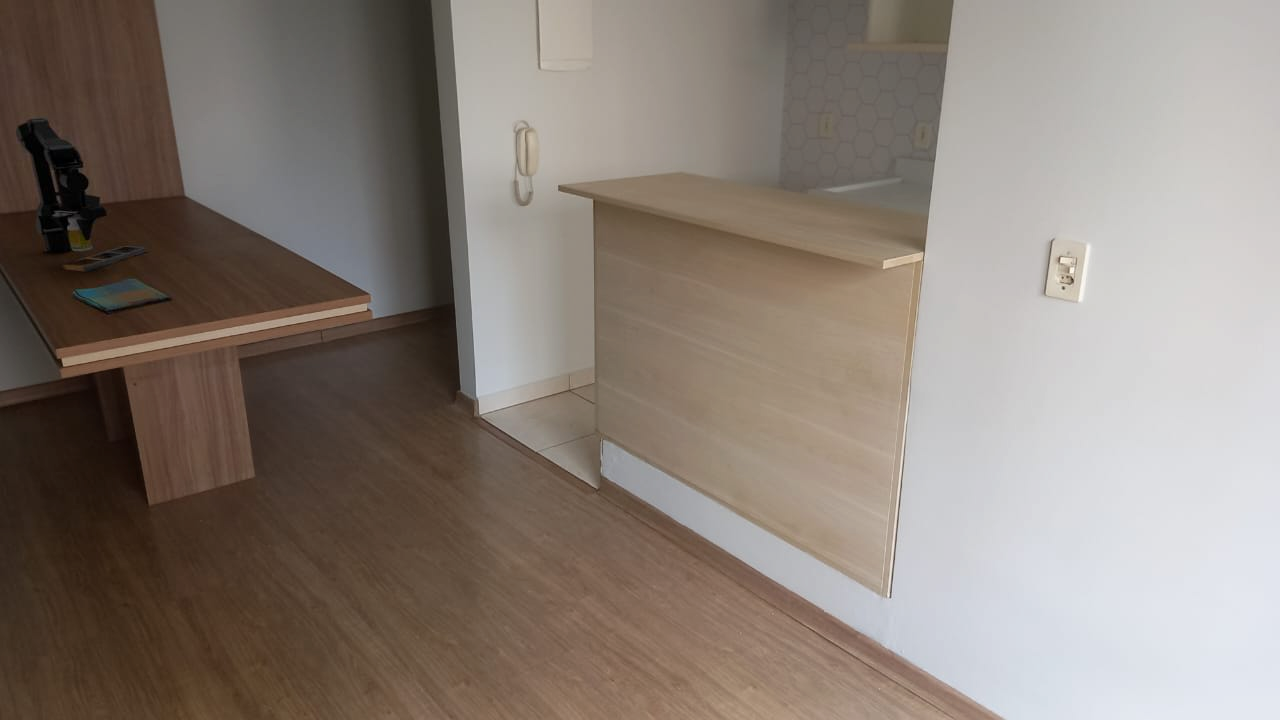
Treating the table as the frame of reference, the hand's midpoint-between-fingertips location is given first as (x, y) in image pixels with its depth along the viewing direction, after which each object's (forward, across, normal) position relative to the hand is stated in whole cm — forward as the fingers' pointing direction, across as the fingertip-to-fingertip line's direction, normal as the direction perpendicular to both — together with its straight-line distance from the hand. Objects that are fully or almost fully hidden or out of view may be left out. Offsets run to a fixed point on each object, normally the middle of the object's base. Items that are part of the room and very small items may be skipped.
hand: (80, 239), depth 271 cm
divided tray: (+8, 0, -8) cm, 11 cm away
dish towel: (+9, -35, +22) cm, 43 cm away
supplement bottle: (+3, 0, 0) cm, 3 cm away
